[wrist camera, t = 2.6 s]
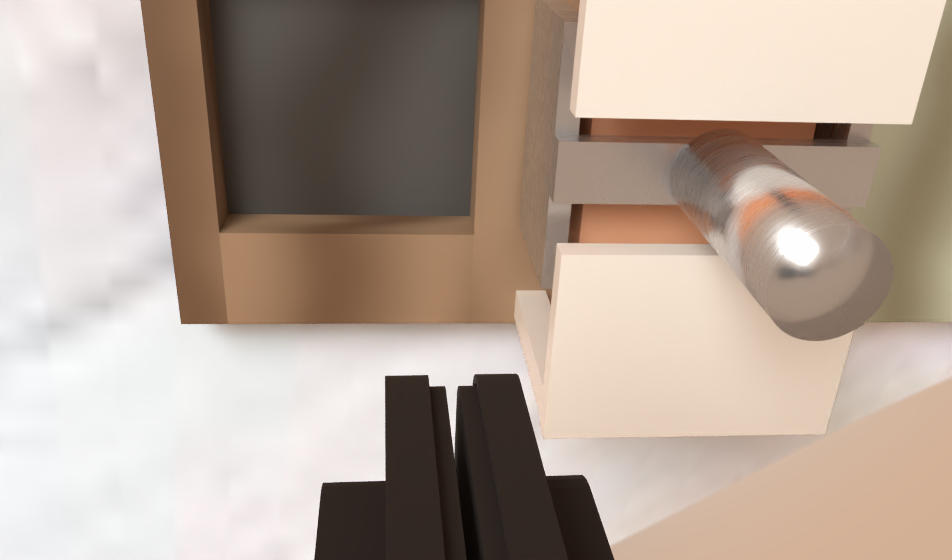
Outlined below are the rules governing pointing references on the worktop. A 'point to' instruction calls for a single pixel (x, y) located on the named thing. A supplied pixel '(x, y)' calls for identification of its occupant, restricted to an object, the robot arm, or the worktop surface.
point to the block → (659, 219)
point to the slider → (713, 195)
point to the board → (418, 162)
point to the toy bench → (698, 265)
